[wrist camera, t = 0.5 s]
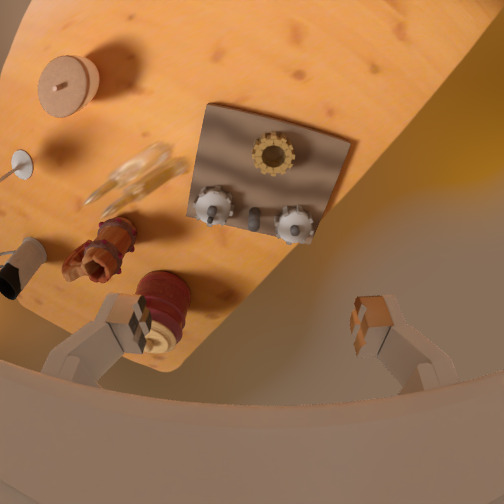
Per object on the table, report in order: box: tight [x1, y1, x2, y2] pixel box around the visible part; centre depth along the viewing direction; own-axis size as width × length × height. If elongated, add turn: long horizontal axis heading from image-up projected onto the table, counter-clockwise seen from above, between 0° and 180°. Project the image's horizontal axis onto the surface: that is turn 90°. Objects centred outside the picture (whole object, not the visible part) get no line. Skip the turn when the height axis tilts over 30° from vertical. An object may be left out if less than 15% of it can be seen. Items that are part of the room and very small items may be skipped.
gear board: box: [186, 103, 351, 245], centre depth 49 cm, size 21×24×7 cm
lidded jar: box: [38, 55, 99, 118], centre depth 37 cm, size 11×11×9 cm
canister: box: [135, 271, 191, 353], centre depth 62 cm, size 13×13×18 cm
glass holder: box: [0, 237, 47, 300], centre depth 57 cm, size 9×14×15 cm, turn 65°
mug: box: [62, 217, 137, 283], centre depth 53 cm, size 15×8×15 cm, turn 101°
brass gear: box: [252, 131, 295, 176], centre depth 46 cm, size 6×6×4 cm
